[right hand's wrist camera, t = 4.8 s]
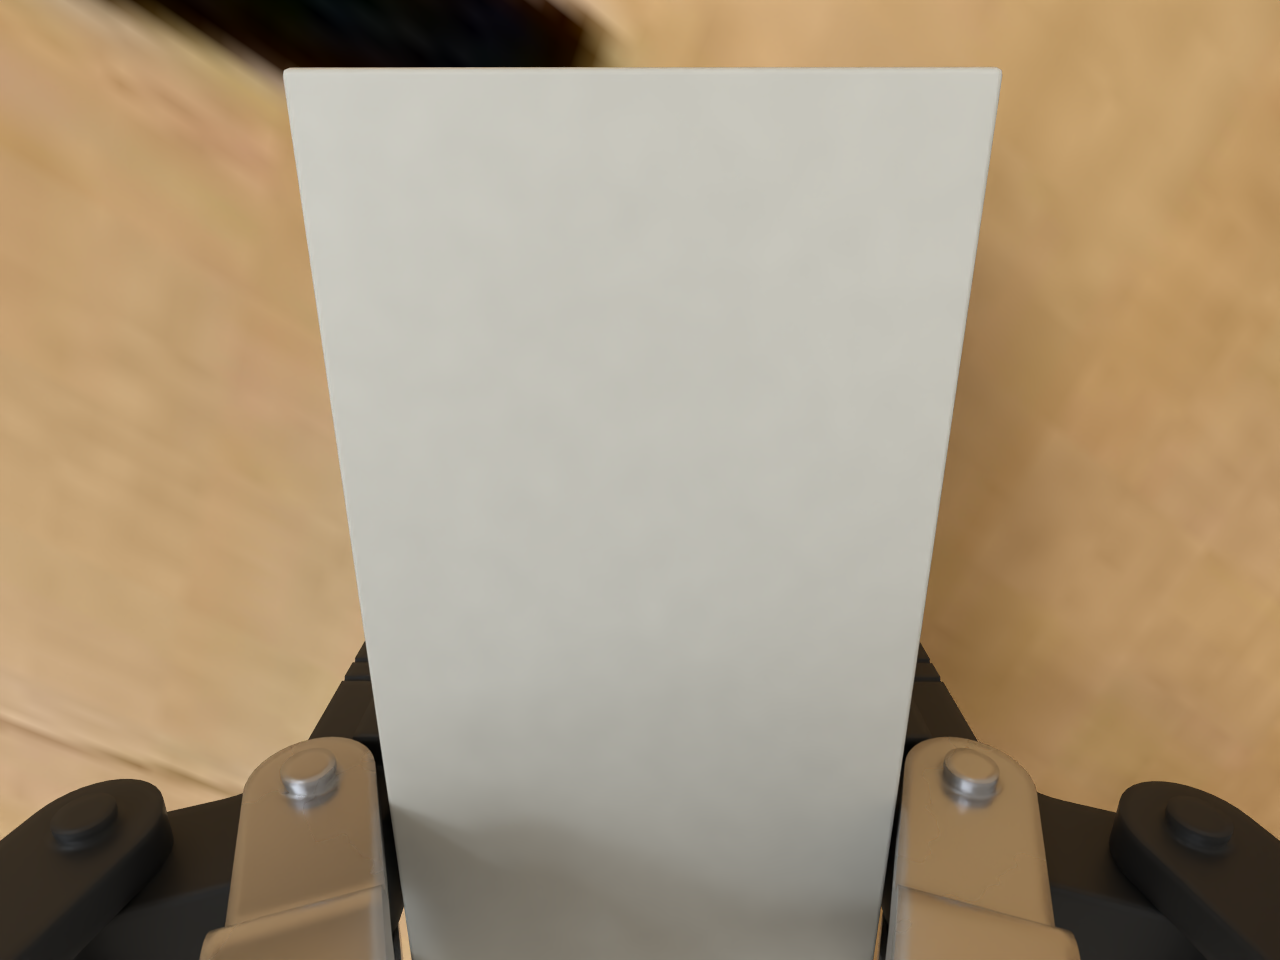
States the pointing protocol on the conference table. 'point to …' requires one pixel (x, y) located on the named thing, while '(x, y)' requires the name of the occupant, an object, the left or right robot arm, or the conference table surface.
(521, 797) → the beam
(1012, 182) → the conference table surface
